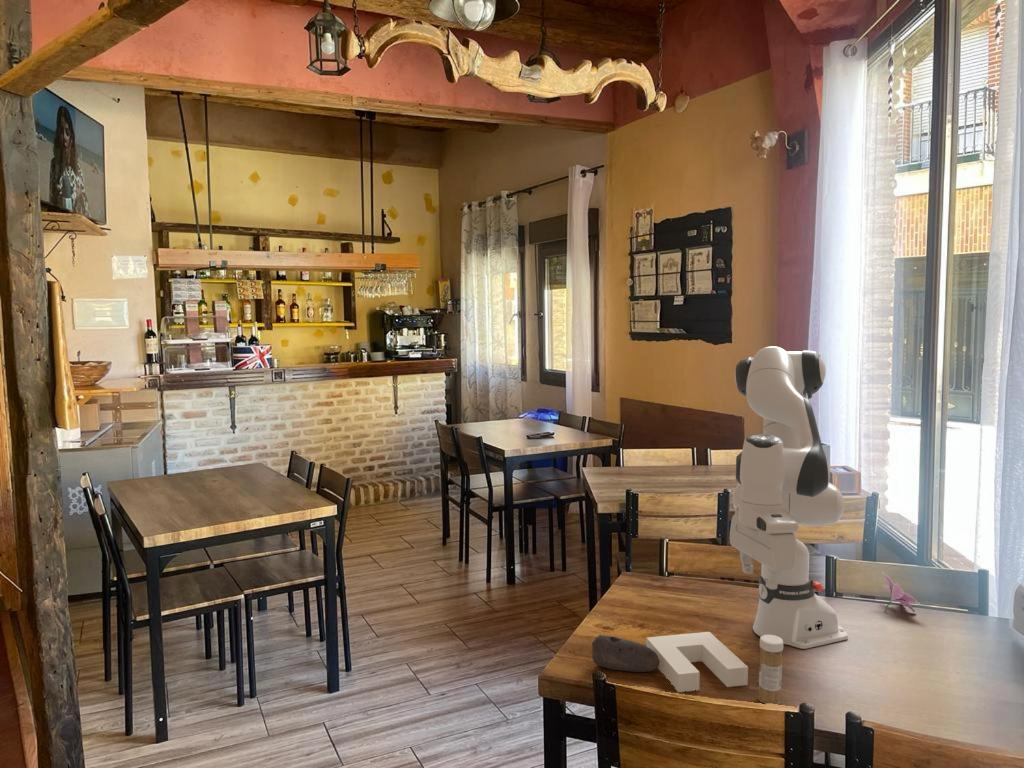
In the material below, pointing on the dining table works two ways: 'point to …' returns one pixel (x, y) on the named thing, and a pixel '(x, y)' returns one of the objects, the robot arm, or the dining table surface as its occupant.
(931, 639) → the dining table surface
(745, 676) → the slotted plate
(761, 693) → the sprinkles bottle
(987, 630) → the dining table surface
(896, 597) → the lily
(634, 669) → the perforated stone tool
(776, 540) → the robot arm
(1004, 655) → the dining table surface
